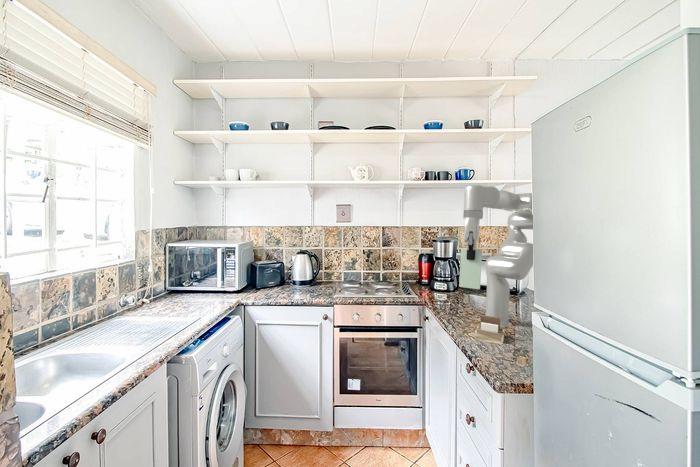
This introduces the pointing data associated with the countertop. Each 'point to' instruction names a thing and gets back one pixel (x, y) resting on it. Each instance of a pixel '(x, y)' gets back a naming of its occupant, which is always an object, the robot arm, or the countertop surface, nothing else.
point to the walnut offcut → (490, 320)
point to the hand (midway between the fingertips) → (470, 259)
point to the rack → (490, 335)
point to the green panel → (470, 270)
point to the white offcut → (489, 327)
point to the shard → (472, 323)
